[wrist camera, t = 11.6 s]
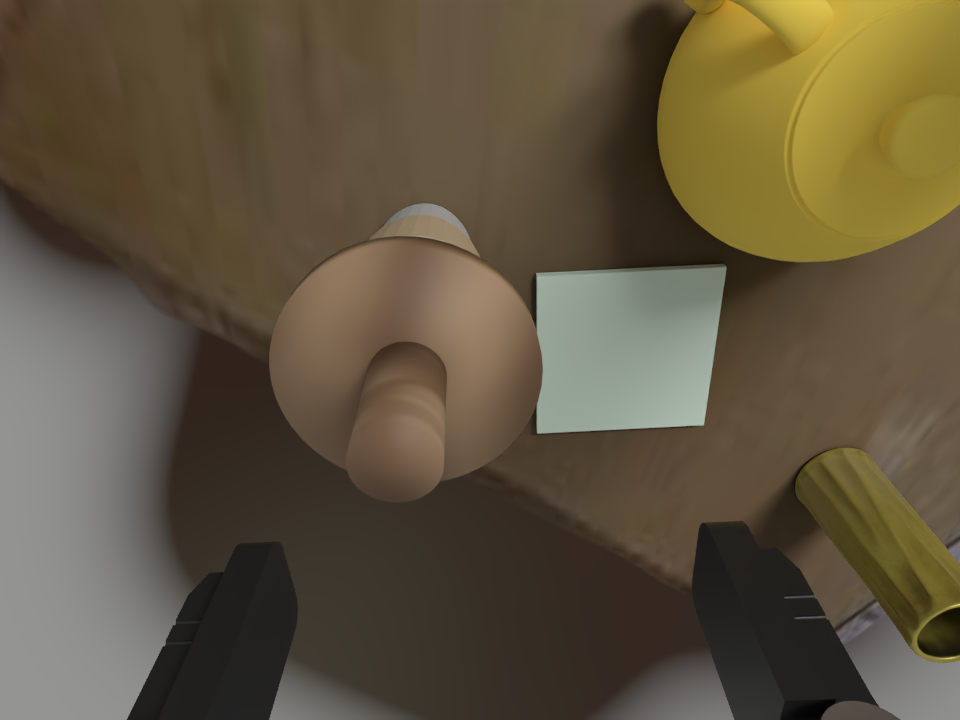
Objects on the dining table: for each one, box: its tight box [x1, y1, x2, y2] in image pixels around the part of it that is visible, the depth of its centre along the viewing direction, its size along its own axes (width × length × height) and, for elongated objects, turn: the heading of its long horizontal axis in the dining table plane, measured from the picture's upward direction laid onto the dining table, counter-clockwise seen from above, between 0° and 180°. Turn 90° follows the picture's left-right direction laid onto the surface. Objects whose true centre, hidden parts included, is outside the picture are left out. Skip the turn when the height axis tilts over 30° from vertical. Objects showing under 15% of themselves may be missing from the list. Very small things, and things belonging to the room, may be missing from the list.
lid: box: [269, 236, 543, 503], centre depth 24 cm, size 11×11×7 cm
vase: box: [795, 448, 960, 663], centre depth 44 cm, size 6×6×14 cm
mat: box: [536, 264, 727, 434], centre depth 44 cm, size 12×12×1 cm
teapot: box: [657, 0, 960, 262], centre depth 31 cm, size 20×19×13 cm
